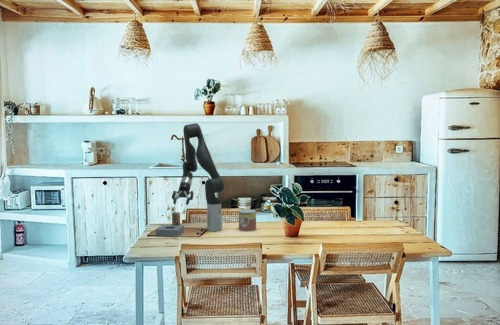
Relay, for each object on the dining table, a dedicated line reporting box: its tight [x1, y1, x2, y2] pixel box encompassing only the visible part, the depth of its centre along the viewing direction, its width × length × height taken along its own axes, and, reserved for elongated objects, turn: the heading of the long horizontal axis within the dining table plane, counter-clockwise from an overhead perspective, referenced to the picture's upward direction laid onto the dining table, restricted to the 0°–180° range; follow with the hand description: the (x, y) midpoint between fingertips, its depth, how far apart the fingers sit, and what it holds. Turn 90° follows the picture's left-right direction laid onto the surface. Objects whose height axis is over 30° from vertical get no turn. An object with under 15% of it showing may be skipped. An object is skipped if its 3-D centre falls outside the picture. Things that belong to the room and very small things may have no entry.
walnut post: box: [171, 211, 181, 226], centre depth 288 cm, size 4×4×11 cm
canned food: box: [238, 208, 257, 232], centre depth 286 cm, size 11×11×12 cm
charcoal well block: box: [155, 224, 185, 237], centre depth 276 cm, size 14×12×4 cm
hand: (180, 204), depth 297 cm, fingers open, 8 cm apart
